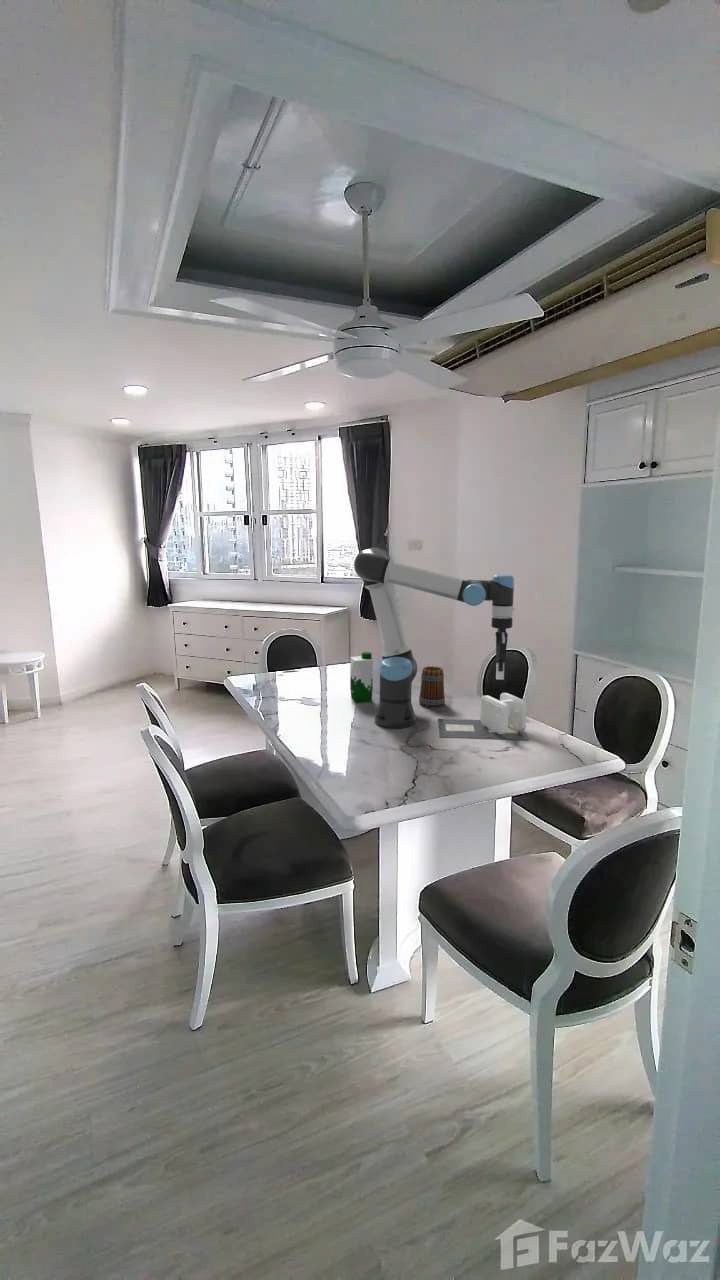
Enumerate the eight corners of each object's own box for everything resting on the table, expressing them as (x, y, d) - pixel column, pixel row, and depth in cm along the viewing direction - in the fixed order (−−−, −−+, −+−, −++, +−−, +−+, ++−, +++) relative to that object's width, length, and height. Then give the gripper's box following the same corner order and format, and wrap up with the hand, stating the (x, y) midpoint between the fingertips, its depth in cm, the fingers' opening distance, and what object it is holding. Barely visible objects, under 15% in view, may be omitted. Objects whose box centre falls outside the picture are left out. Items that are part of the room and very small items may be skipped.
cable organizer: (527, 734, 212) (529, 702, 209) (501, 737, 208) (503, 705, 206) (502, 721, 225) (504, 691, 223) (478, 724, 222) (479, 693, 219)
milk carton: (374, 702, 250) (375, 655, 246) (353, 703, 247) (353, 656, 244) (369, 696, 258) (369, 650, 254) (348, 698, 256) (348, 651, 252)
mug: (446, 708, 242) (447, 671, 240) (419, 707, 243) (420, 671, 240) (441, 697, 258) (442, 662, 255) (416, 697, 258) (417, 662, 255)
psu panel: (439, 737, 209) (439, 736, 209) (437, 719, 228) (437, 718, 228) (528, 740, 206) (528, 739, 206) (518, 721, 226) (518, 721, 226)
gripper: (515, 619, 216) (512, 683, 221) (509, 614, 229) (507, 675, 233) (494, 619, 217) (491, 683, 221) (489, 614, 230) (487, 674, 234)
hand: (499, 678), depth 227 cm, fingers closed
